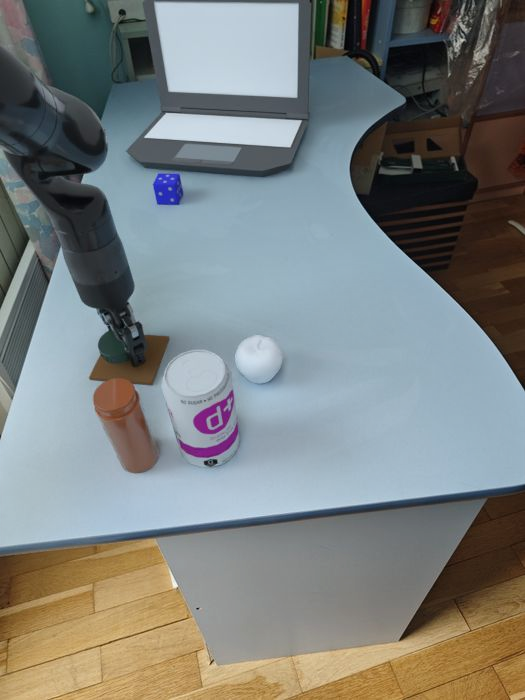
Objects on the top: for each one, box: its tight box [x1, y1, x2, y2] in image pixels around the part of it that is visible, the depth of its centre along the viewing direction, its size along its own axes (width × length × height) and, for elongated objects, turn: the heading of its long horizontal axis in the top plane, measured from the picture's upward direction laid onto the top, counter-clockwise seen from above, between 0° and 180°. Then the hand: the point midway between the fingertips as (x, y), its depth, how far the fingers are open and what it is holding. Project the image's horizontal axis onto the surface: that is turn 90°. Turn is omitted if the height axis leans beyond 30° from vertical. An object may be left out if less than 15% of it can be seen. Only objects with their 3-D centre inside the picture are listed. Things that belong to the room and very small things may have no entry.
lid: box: [97, 327, 129, 364], centre depth 74 cm, size 6×6×2 cm
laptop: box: [125, 0, 313, 178], centre depth 117 cm, size 43×31×34 cm
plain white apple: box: [234, 334, 283, 384], centre depth 71 cm, size 7×7×8 cm
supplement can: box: [160, 349, 241, 469], centre depth 61 cm, size 8×8×15 cm
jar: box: [92, 378, 160, 474], centre depth 60 cm, size 5×5×14 cm
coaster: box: [88, 334, 170, 386], centre depth 77 cm, size 10×10×1 cm
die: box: [152, 172, 184, 206], centre depth 110 cm, size 5×5×5 cm
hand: (129, 351), depth 76 cm, fingers closed on lid, 6 cm apart
